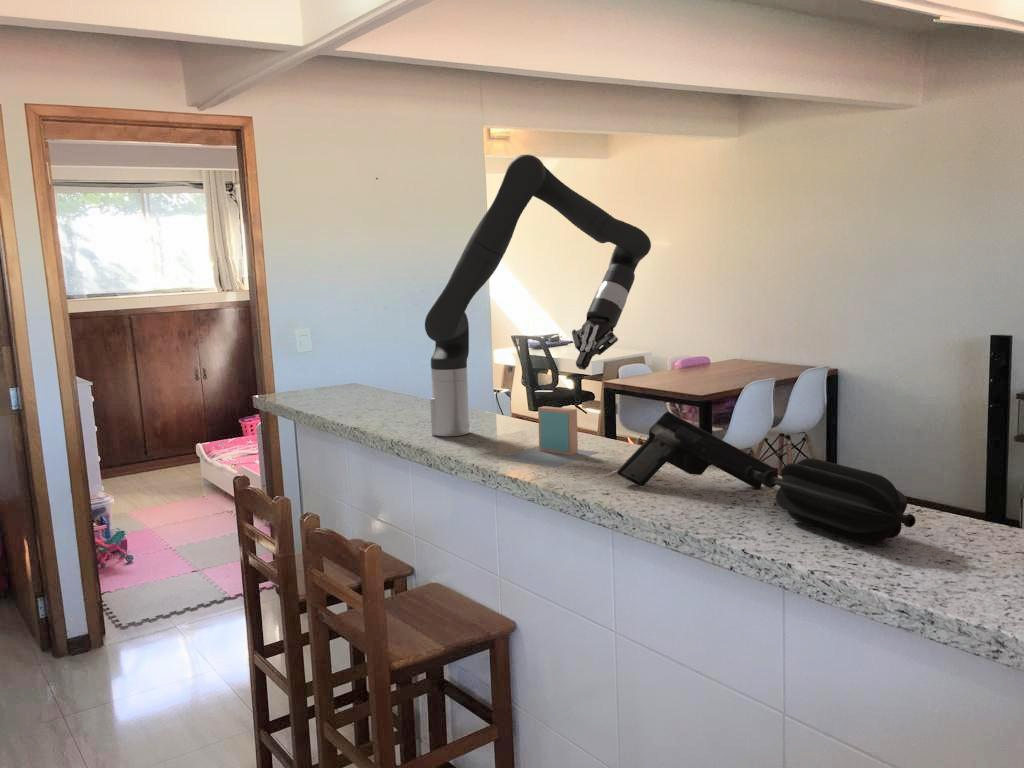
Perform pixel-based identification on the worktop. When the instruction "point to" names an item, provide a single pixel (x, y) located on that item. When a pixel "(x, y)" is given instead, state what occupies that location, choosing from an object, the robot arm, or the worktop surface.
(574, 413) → the tile
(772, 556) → the worktop surface
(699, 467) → the handgun
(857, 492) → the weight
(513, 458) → the mat
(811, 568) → the worktop surface
